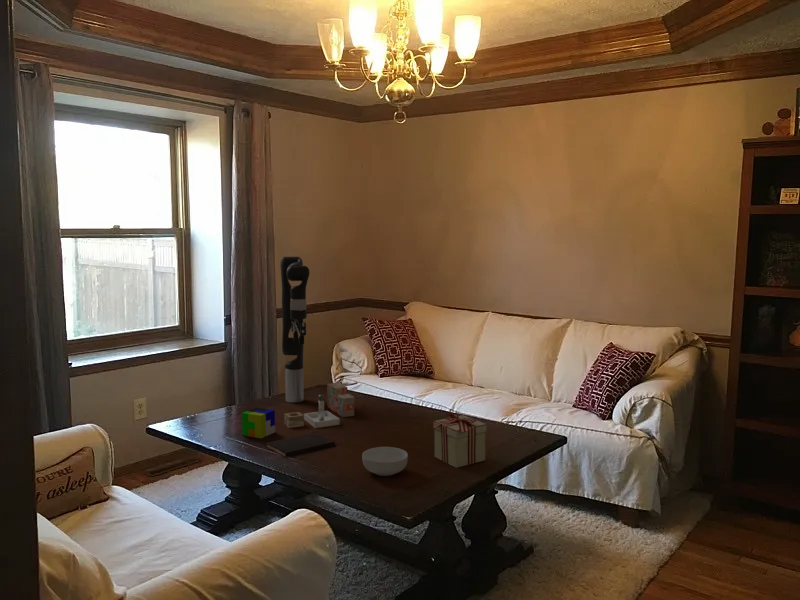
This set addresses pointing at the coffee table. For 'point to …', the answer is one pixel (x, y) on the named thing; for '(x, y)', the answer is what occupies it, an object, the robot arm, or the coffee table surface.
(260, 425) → the puzzle toy
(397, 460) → the cereal bowl
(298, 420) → the maple bore block
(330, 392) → the stack of blocks
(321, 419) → the cylinder
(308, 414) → the tray
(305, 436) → the hardcover book
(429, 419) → the coffee table surface
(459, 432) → the gift box
